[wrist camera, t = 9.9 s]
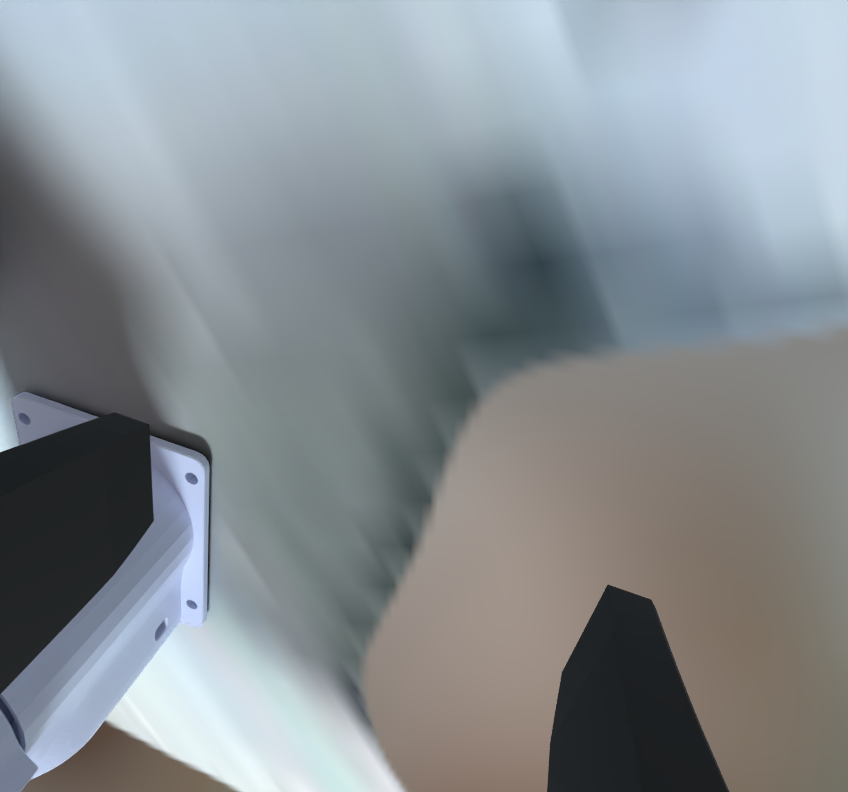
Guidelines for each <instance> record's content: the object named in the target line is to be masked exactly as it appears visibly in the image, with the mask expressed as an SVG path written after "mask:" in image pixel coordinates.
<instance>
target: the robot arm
mask: <svg viewBox="0 0 848 792" xmlns="http://www.w3.org/2000/svg"><path fill="white" fill-rule="evenodd" d="M12 406H13V412H14V417H15V422H16V428H17V433H18V438H19V444H20V446H17V447H14V448H11V449H8V450H6V451H3V452H0V792H21V791H22V789H23V788H24V787H25V785H26V784H27V783H28V782H29V780H31V779H33V778H35V777H38V776H40V775H42V774H44V773H46V772H48V771H50V770H51V769H53V768H55V767H56V766H58V765H60V764H61V763H63V762H64V761H66V760H67V759H68V758H70V757H71V756H72V755H73V754H75V753H76V752H77V751H78V750H79V749H81V748H82V747H83V746H84V744H86V743H87V742H88V740H89V739H90V738H91V737H92V736H93V735H94V733H95V732H96V731H97V730H98V728H99V727H100V726H101V724H102V723H103V722H104V720H105V719H106V718H107V717H108V715H109V714H110V713H111V711H112V710H113V709H114V707H115V706H116V705H117V703H118V702H119V701H120V699H121V698H122V697H123V696H124V694H125V693H126V692H127V690H128V689H129V688H130V686H131V685H132V684H133V682H134V681H135V680H136V679H137V677H138V676H139V675H140V673H141V672H142V671H143V669H144V668H145V667H146V665H147V664H148V663H149V662H150V660H151V659H152V658H153V656H154V655H155V654H156V652H157V651H158V650H159V648H160V647H161V646H162V644H163V643H164V642H165V641H166V639H167V638H168V637H169V635H170V634H171V633H172V631H173V630H174V629H175V627H176V626H177V625H178V624H179V622H182V623H184V624H187V625H189V626H192V627H201V626H202V625H203V624H204V622H205V621H206V619H207V582H208V522H209V462H208V461H207V459H206V457H204V456H203V455H202V454H201V453H199V452H196V451H194V450H191V449H188V448H185V447H182V446H179V445H176V444H174V443H171V442H168V441H165V440H162V439H159V438H157V437H154V436H151V435H150V428H149V424H146V423H143V422H140V421H137V420H134V419H131V418H129V417H126V416H123V415H120V414H117V413H112V414H109V415H106V416H102V417H97V416H94V415H91V414H88V413H85V412H82V411H80V410H77V409H74V408H71V407H68V406H65V405H62V404H60V403H57V402H54V401H51V400H48V399H45V398H43V397H40V396H37V395H34V394H31V393H28V392H22V393H19V394H18V395H16V396H14V397H13V399H12ZM193 474H194V475H195V476H196V477H195V476H194V475H193ZM547 792H729V790H728V788H727V786H726V784H725V781H724V779H723V777H722V774H721V772H720V770H719V767H718V765H717V763H716V760H715V758H714V756H713V753H712V751H711V749H710V746H709V744H708V742H707V740H706V737H705V735H704V733H703V730H702V728H701V726H700V723H699V721H698V718H697V716H696V714H695V711H694V708H693V706H692V703H691V701H690V698H689V696H688V693H687V691H686V688H685V686H684V683H683V681H682V678H681V675H680V673H679V670H678V668H677V665H676V662H675V660H674V657H673V654H672V652H671V649H670V646H669V644H668V641H667V638H666V636H665V633H664V630H663V627H662V625H661V622H660V619H659V616H658V614H657V611H656V608H655V606H654V604H653V602H652V600H650V599H648V598H645V597H642V596H639V595H636V594H633V593H630V592H628V591H625V590H622V589H619V588H616V587H613V586H610V585H607V587H606V589H605V591H604V593H603V595H602V597H601V599H600V601H599V602H598V604H597V606H596V608H595V610H594V612H593V614H592V616H591V618H590V620H589V622H588V624H587V625H586V627H585V629H584V632H583V633H582V635H581V637H580V639H579V641H578V643H577V645H576V647H575V649H574V650H573V652H572V654H571V656H570V658H569V660H568V662H567V664H566V666H565V668H564V670H563V672H562V676H561V682H560V688H559V693H558V699H557V705H556V711H555V717H554V723H553V730H552V736H551V742H550V755H549V773H548V788H547Z"/></svg>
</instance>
